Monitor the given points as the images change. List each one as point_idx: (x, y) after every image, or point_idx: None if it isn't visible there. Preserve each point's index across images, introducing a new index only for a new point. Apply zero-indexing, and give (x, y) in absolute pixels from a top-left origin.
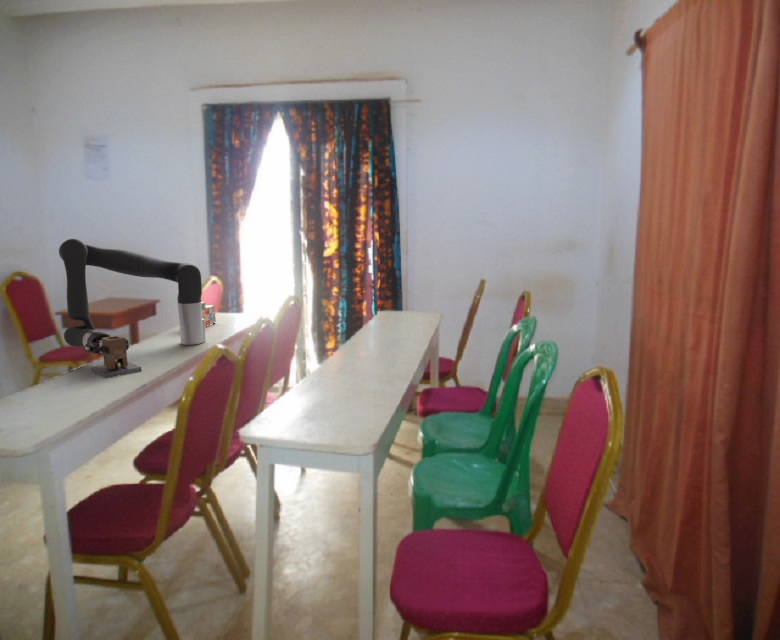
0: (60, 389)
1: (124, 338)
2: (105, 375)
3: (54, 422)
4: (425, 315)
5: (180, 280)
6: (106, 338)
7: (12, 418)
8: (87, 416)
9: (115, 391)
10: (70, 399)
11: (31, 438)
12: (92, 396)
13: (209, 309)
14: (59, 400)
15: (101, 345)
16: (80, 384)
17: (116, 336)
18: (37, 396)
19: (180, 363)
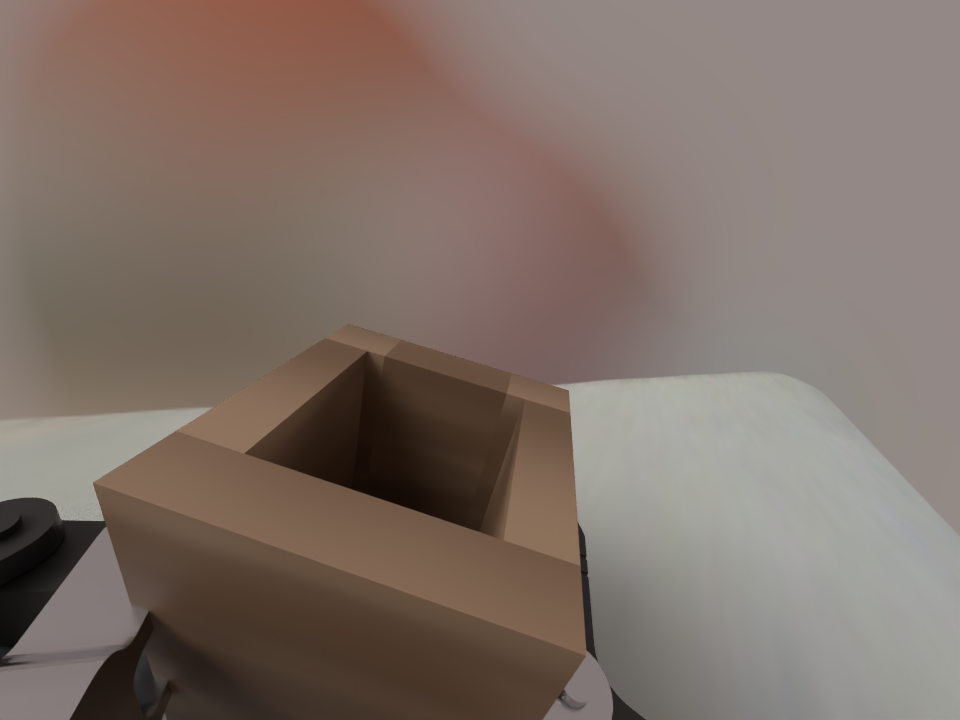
0: (843, 653)
1: (357, 335)
2: None
3: (763, 399)
4: None
5: None
6: (525, 488)
7: (901, 486)
8: (695, 375)
9: (595, 416)
10: (748, 475)
11: (790, 387)
12: (673, 440)
13: None
14: (791, 498)
15: None
16: (721, 633)
17: (246, 458)
18: (949, 645)
19: (40, 420)
